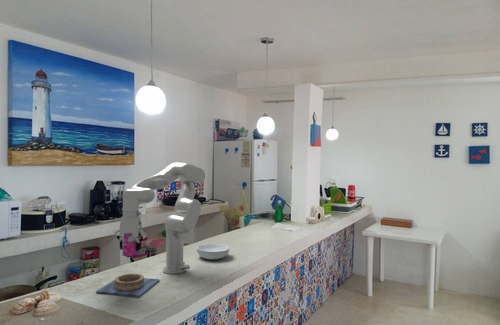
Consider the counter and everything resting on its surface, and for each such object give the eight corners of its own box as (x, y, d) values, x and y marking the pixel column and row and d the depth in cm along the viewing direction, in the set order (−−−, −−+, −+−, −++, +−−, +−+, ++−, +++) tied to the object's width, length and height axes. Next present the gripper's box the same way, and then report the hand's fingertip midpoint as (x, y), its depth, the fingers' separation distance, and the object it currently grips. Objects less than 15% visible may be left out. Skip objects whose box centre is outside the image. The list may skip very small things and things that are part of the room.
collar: (159, 281, 191) (159, 272, 191) (139, 297, 169) (139, 287, 169) (120, 277, 195) (120, 269, 195) (96, 293, 173) (96, 283, 173)
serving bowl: (224, 264, 223) (224, 252, 223) (191, 261, 228) (191, 250, 227) (232, 254, 244) (232, 244, 244) (202, 252, 248) (202, 242, 248)
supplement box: (121, 255, 182) (122, 232, 181) (132, 253, 186) (133, 230, 185) (127, 257, 177) (127, 234, 177) (138, 255, 182) (138, 232, 181)
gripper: (150, 214, 183) (150, 249, 184) (118, 212, 186) (117, 246, 187) (143, 216, 176) (143, 253, 176) (110, 214, 179) (109, 250, 179)
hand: (130, 249), depth 182 cm, fingers closed on supplement box, 7 cm apart
